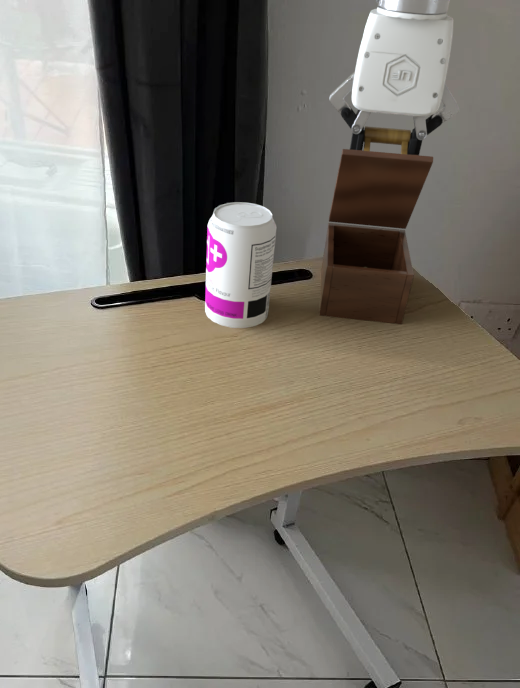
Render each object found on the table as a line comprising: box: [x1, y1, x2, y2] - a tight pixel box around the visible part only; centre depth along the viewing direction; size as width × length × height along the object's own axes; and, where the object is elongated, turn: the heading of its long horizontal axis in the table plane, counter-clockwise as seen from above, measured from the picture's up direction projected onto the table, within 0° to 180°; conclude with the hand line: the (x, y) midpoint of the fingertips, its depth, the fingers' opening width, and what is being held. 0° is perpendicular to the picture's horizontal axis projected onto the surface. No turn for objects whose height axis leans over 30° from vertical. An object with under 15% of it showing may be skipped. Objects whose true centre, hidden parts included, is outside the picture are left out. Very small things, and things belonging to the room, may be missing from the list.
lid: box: [328, 125, 434, 230], centre depth 85 cm, size 14×11×6 cm
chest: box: [318, 222, 415, 325], centre depth 89 cm, size 14×11×9 cm
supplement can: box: [204, 201, 278, 329], centre depth 82 cm, size 8×8×15 cm
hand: (381, 165), depth 82 cm, fingers closed on lid, 5 cm apart
